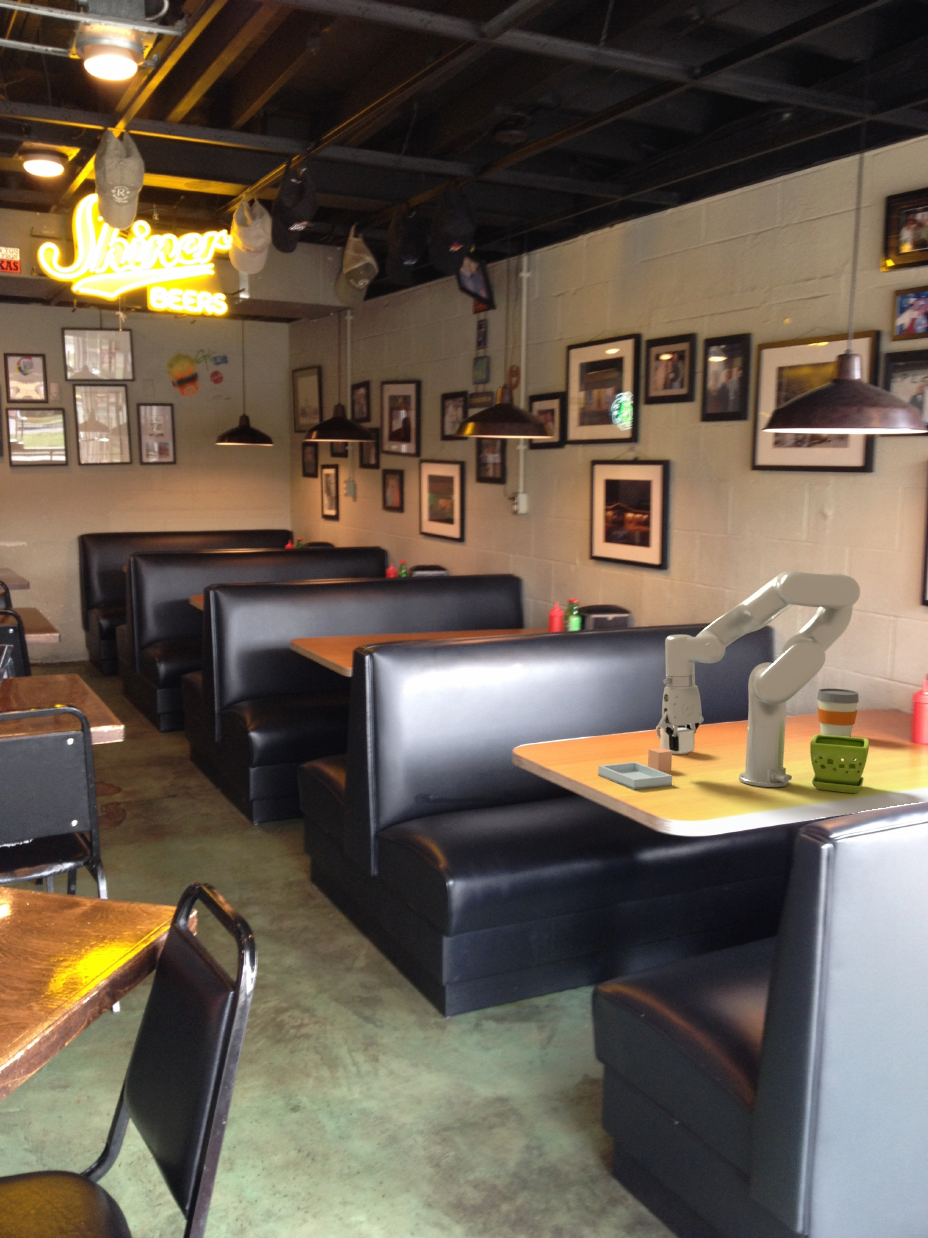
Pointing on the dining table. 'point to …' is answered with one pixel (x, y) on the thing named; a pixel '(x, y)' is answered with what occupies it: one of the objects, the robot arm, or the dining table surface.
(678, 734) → the white block
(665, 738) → the teacup with lid
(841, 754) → the flower pot
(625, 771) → the tray
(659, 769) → the terracotta block
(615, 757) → the dining table surface
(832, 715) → the reusable coffee cup
